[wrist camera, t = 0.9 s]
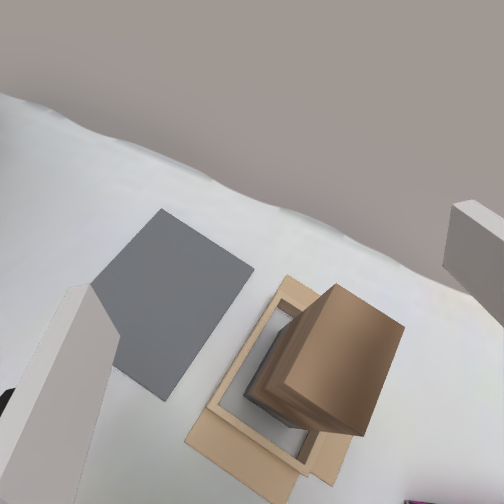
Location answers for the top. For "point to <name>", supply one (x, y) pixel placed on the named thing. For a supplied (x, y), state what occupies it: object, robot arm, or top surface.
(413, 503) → the candy bar box
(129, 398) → the top surface
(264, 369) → the walnut box
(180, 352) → the mat
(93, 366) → the robot arm
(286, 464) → the carton
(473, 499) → the top surface
